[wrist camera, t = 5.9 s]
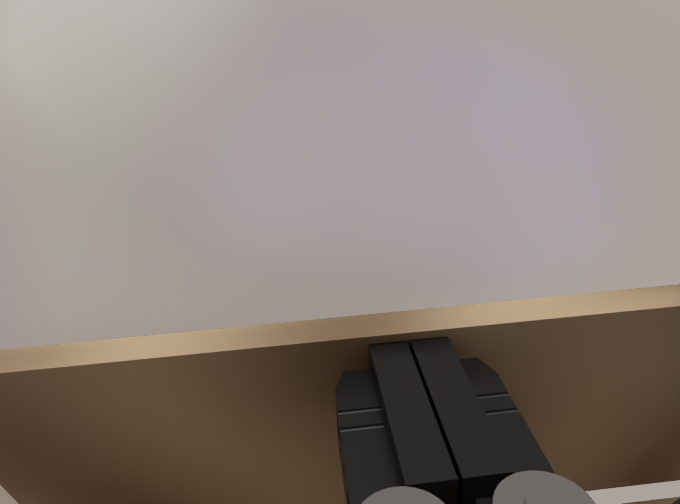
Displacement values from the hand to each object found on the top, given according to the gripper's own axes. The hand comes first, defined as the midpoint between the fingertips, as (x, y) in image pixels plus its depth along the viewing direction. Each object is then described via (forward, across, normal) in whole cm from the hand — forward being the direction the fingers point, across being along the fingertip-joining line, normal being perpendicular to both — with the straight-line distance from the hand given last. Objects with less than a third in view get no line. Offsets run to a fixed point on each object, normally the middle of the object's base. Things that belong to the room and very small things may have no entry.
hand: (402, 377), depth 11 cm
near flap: (+1, 0, +2) cm, 3 cm away
